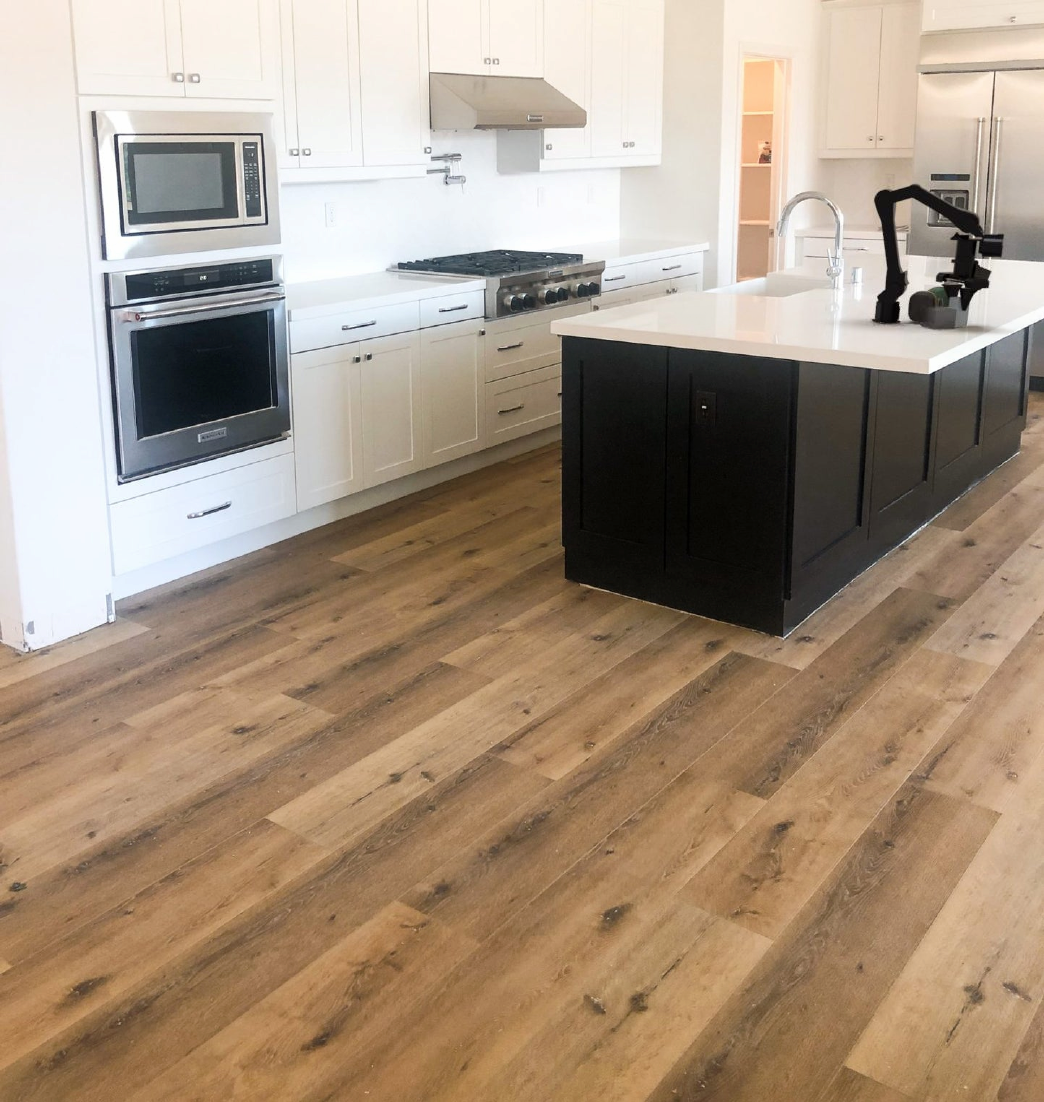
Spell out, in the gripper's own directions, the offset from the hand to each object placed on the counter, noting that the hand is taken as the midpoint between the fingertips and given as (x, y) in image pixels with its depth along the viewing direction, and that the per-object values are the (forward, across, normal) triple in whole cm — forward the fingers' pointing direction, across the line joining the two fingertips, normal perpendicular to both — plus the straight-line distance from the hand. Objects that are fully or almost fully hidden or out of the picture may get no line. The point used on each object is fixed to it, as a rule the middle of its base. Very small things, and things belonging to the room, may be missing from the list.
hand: (958, 309), depth 362 cm
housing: (+5, 0, +7) cm, 8 cm away
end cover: (+5, 0, +3) cm, 6 cm away
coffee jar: (0, +18, -6) cm, 19 cm away
